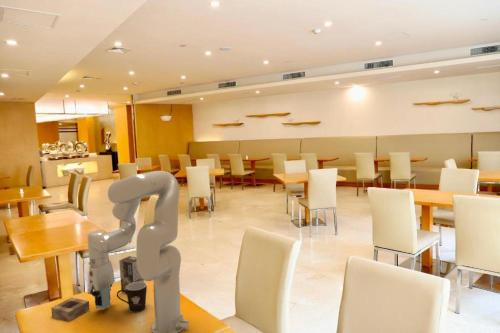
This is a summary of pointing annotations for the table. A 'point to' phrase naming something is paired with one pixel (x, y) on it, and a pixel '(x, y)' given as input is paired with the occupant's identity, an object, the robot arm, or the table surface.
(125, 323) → the table surface
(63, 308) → the socket block
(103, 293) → the peg
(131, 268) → the coffee box
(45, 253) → the table surface
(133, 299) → the coffee mug
